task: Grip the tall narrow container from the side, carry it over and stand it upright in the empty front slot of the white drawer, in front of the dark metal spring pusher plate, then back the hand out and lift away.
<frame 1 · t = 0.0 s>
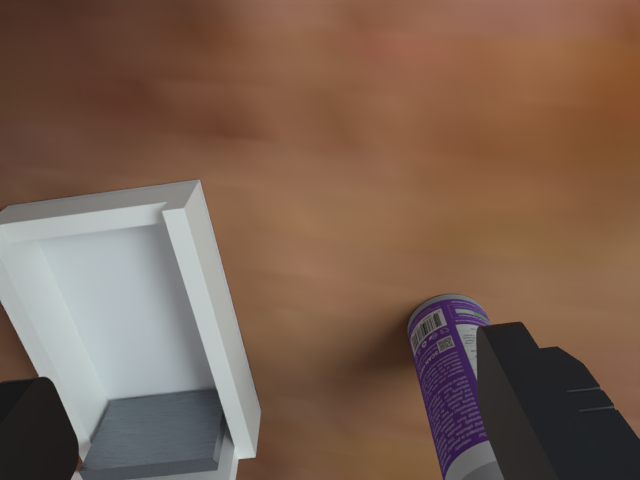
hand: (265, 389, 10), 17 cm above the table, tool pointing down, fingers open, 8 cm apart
white drawer: (148, 320, 30), on the table
pusher: (160, 433, 30), point 3 cm above the table, slide at 0.0 cm
container: (446, 325, 31), on the table
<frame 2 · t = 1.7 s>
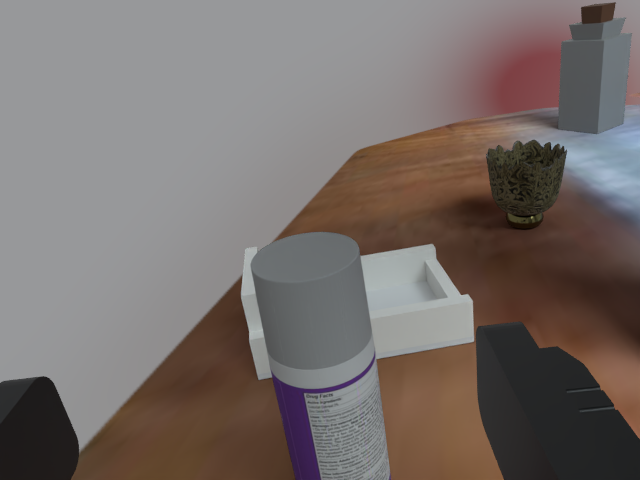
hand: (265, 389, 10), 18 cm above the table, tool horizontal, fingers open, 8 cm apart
cup: (524, 225, 55), on the table
white drawer: (356, 323, 43), on the table
perfume bottle: (590, 127, 84), on the table
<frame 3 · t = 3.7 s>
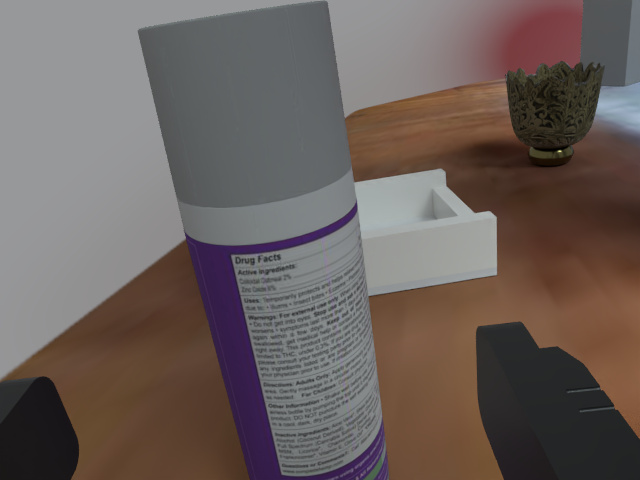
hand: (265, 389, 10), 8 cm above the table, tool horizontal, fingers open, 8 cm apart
cup: (549, 164, 46), on the table
white drawer: (345, 260, 34), on the table
perfume bottle: (615, 82, 75), on the table
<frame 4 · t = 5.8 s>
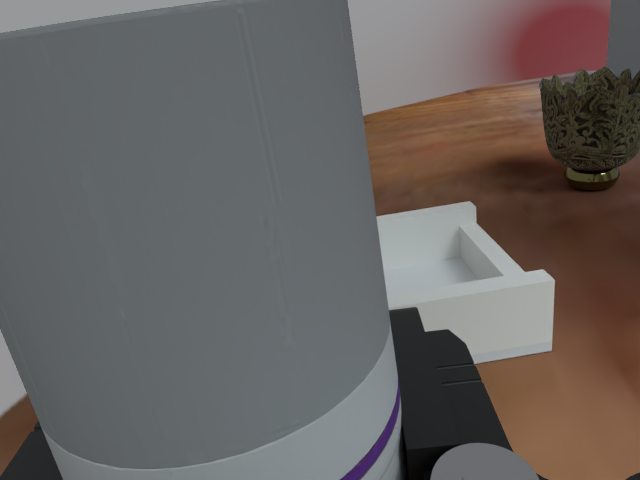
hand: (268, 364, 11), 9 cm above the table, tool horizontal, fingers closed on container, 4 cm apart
cup: (590, 187, 40), on the table
white drawer: (353, 320, 27), on the table
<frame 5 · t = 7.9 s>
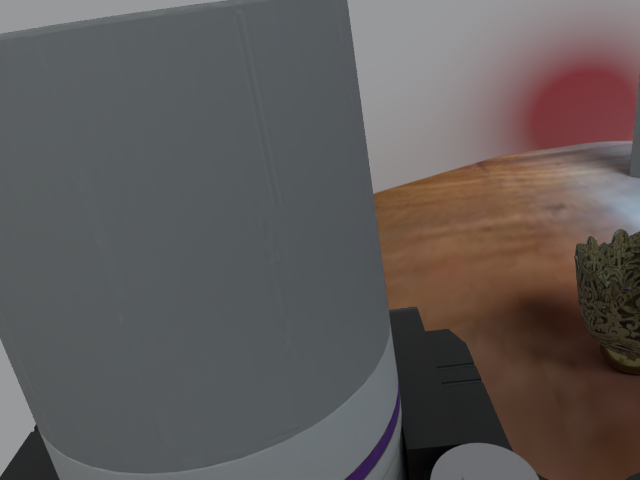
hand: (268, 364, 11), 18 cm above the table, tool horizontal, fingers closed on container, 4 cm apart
cup: (630, 363, 35), on the table
when the fingers open (10 cm above the table, at t = 10.3 s): container drops 1 cm, resting on white drawer.
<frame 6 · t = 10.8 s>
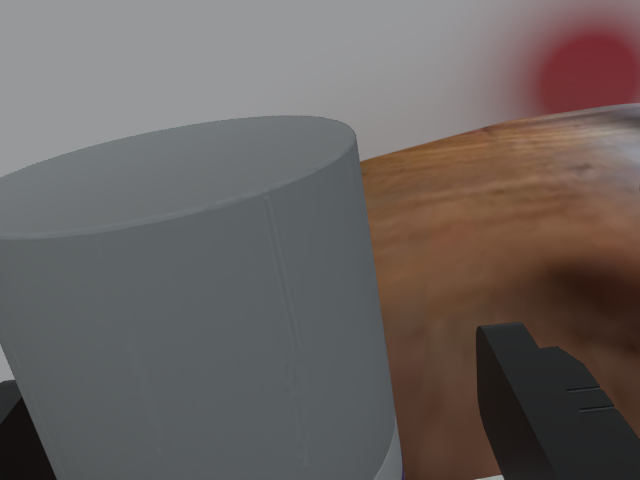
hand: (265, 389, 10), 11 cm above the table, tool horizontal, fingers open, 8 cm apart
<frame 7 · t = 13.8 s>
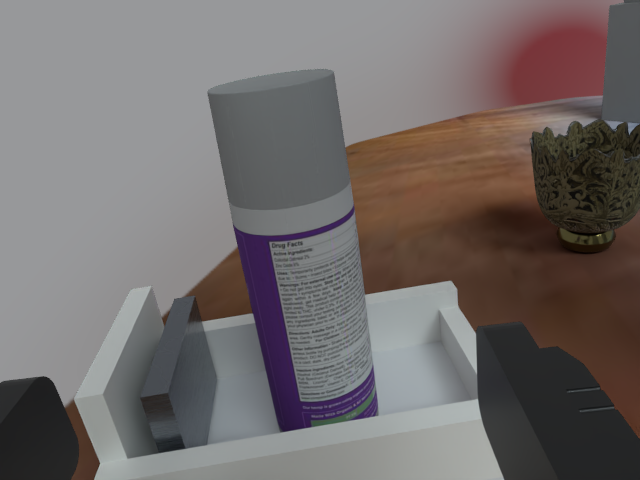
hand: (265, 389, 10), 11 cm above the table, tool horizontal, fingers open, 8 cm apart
cup: (584, 247, 37), on the table
white drawer: (319, 423, 24), on the table
pusher: (185, 386, 23), point 3 cm above the table, slide at 0.0 cm
container: (328, 418, 24), resting on white drawer
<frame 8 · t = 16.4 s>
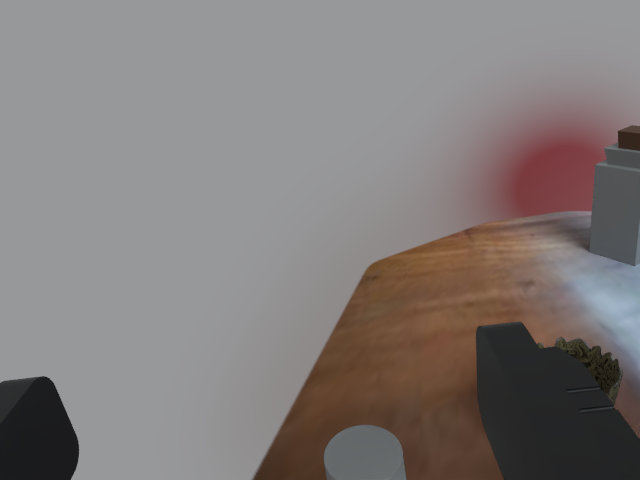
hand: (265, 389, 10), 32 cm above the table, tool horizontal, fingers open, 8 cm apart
cup: (568, 435, 48), on the table
perfume bottle: (624, 252, 77), on the table
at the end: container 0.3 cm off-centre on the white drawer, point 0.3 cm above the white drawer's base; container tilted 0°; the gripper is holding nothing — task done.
